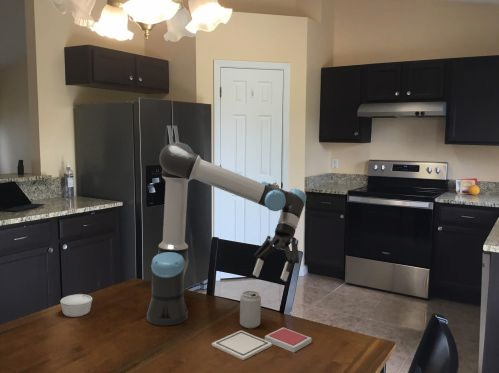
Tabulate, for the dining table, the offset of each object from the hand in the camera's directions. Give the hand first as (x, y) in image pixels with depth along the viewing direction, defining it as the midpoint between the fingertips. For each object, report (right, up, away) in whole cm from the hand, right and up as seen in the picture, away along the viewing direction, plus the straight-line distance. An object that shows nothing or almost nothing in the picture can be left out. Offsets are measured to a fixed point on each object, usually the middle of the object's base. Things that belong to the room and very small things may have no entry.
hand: (268, 277), depth 170 cm
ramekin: (-73, -14, +5) cm, 74 cm away
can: (-7, -17, -3) cm, 18 cm away
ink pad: (+6, -18, -15) cm, 25 cm away
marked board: (-10, -18, -19) cm, 28 cm away
